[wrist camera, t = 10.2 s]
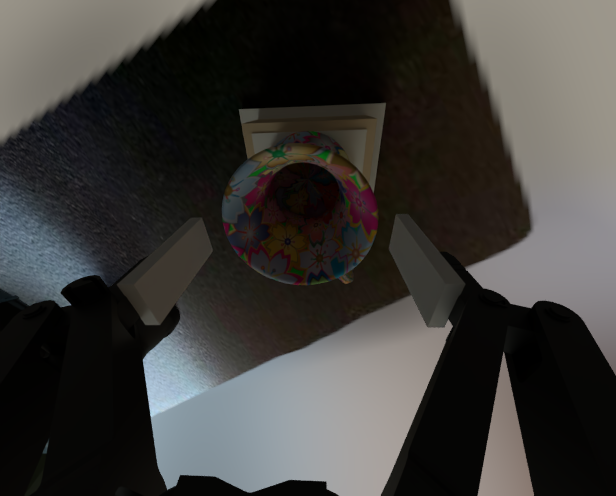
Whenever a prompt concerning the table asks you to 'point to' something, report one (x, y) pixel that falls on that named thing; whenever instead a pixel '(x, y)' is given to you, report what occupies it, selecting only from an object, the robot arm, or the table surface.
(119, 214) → the table surface
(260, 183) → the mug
